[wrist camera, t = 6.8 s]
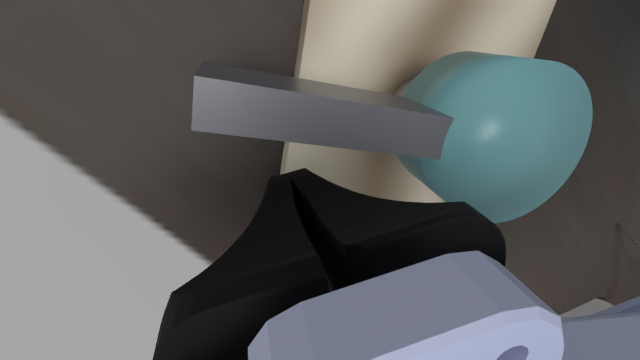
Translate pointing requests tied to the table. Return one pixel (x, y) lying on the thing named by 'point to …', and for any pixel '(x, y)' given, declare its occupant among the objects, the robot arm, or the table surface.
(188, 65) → the table surface
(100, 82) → the table surface
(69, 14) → the table surface
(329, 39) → the post block
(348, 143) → the teal grey handled piece
